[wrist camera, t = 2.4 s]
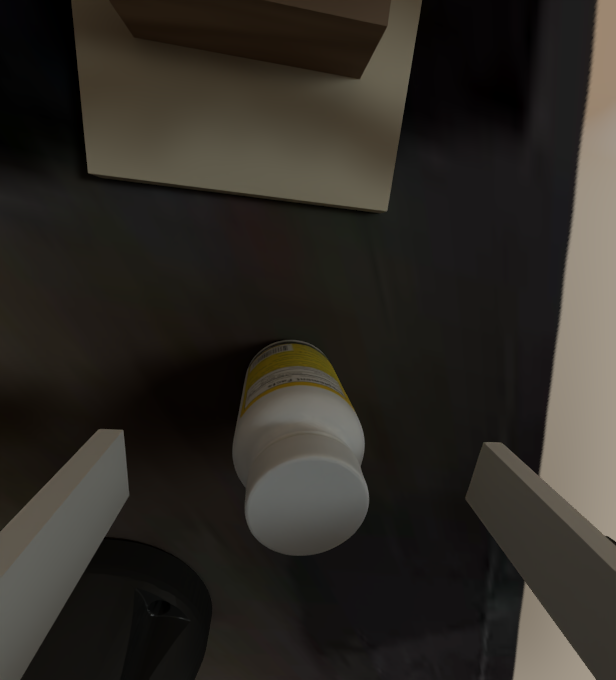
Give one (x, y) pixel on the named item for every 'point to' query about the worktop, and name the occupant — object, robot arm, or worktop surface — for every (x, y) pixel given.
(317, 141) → the collar board
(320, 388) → the supplement bottle
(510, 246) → the worktop surface
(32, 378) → the worktop surface
